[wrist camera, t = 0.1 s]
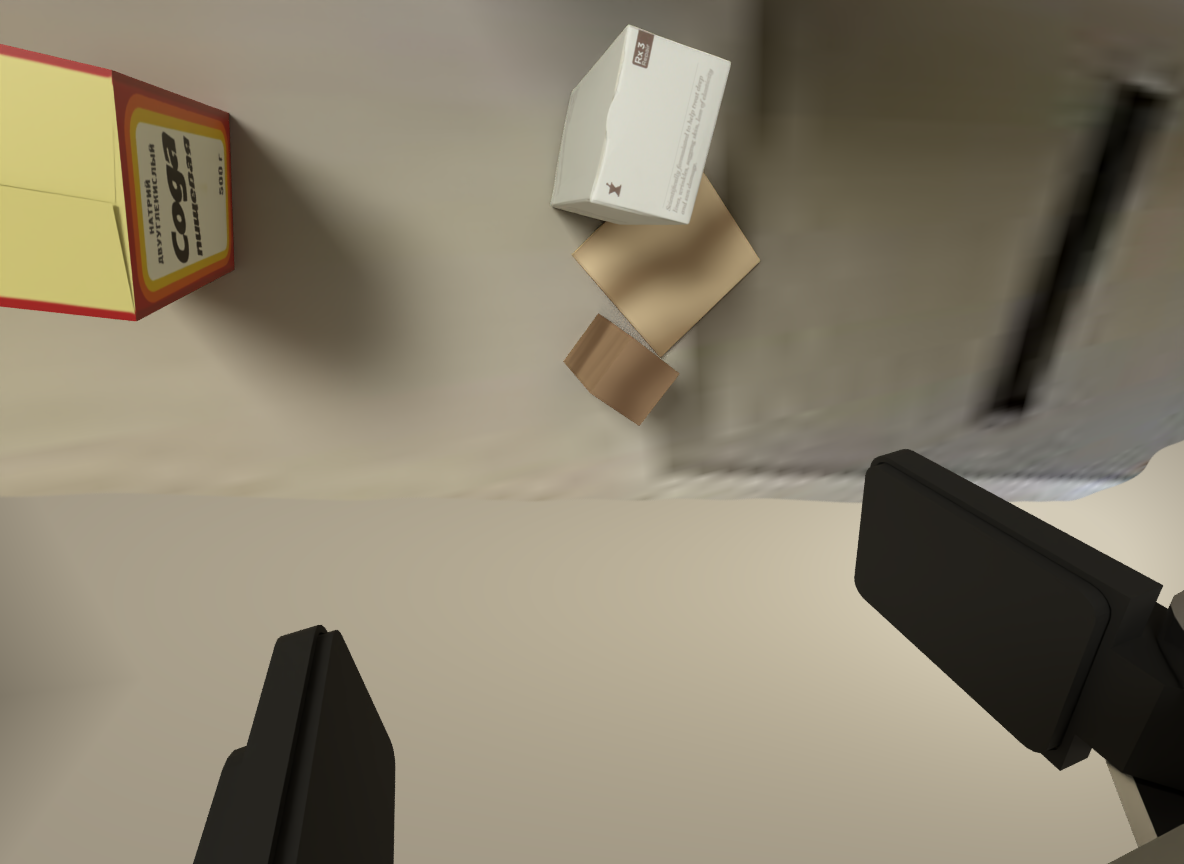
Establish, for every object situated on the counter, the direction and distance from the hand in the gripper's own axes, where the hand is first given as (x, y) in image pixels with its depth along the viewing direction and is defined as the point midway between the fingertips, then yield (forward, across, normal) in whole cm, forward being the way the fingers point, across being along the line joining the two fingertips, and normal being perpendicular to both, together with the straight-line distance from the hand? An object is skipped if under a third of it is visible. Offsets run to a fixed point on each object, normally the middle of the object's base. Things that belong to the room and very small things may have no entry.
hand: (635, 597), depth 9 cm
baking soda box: (+37, +16, -8) cm, 42 cm away
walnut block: (+37, -10, +9) cm, 40 cm away
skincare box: (+37, -12, -6) cm, 39 cm away
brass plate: (+37, -17, +2) cm, 41 cm away
